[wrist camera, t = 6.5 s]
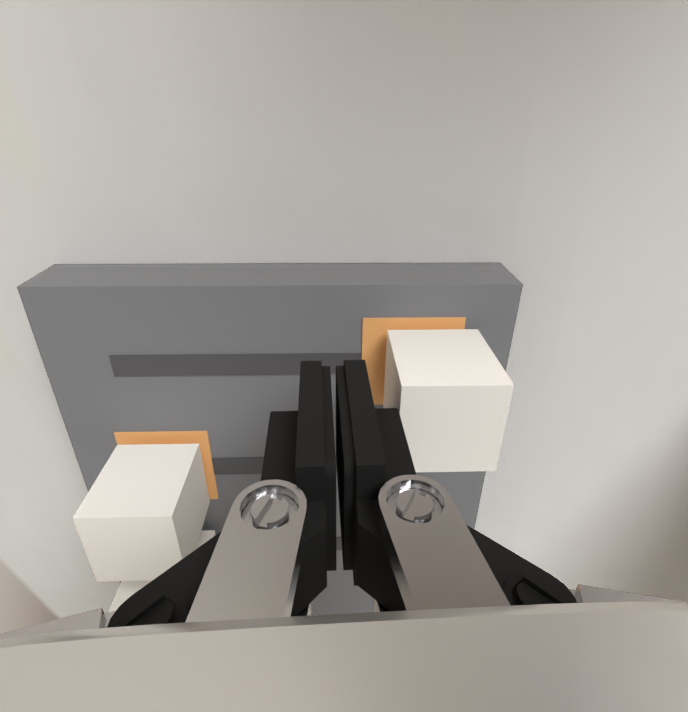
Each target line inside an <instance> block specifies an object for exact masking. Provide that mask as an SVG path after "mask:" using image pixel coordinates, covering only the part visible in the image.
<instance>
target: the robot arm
mask: <svg viewBox="0 0 688 712" xmlns="http://www.w3.org/2000/svg"><path fill="white" fill-rule="evenodd" d="M336 465H337V480H338V496H339V511H340V527H341V542H342V557H343V570H353V581H354V586H359V587H360V588H361V589H362V590H364V591H365V592H366V593H367V594H369V595H370V596H371V597H372V598H373V600H372V601H373V610H374V612H370V613H350V614H331V615H312V616H311V602H312V601H313V600H314V599H315V598H316V597H317V596H318V595H319V594H320V593H321V592H322V591H323V590H324V589H325V588H326V587H327V571H336ZM0 712H688V603H687V602H684V601H679V600H672V599H666V598H660V597H654V596H648V595H641V594H635V593H629V592H623V591H616V590H610V589H604V588H598V587H592V586H585V585H579V584H578V587H577V589H576V590H572V589H568V588H567V587H566V586H565V585H564V584H563V583H562V582H560V581H559V580H558V579H556V578H555V577H553V576H552V575H550V574H549V573H547V572H545V571H544V570H542V569H540V568H539V567H537V566H535V565H534V564H532V563H530V562H528V561H527V560H525V559H523V558H522V557H520V556H518V555H517V554H515V553H513V552H512V551H510V550H508V549H506V548H505V547H503V546H501V545H500V544H498V543H496V542H495V541H493V540H491V539H490V538H488V537H486V536H484V535H483V534H481V533H479V532H478V531H476V530H474V529H473V528H471V527H469V526H468V525H466V524H465V522H464V520H463V518H462V516H461V514H460V513H459V511H458V509H457V507H456V505H455V504H454V502H453V500H452V498H451V496H450V495H449V493H448V492H447V491H446V489H445V488H444V487H443V486H441V485H440V484H439V483H437V482H436V481H434V480H432V479H430V478H427V477H425V476H419V475H416V472H415V468H414V465H413V461H412V457H411V454H410V450H409V446H408V443H407V439H406V436H405V432H404V428H403V425H402V421H401V418H400V414H399V411H398V409H397V408H375V407H374V402H373V397H372V392H371V387H370V382H369V377H368V372H367V367H366V362H365V360H344V363H343V366H336V455H335V438H334V422H333V406H332V390H331V374H330V366H322V360H318V361H301V363H300V383H299V402H298V411H271V412H270V417H269V424H268V432H267V439H266V446H265V453H264V460H263V467H262V475H261V481H260V482H257V483H254V484H252V485H250V486H248V487H246V488H245V489H244V490H243V491H242V492H241V493H239V494H238V496H237V497H236V499H235V501H234V502H233V504H232V507H231V509H230V512H229V514H228V517H227V519H226V522H225V524H224V527H223V529H222V531H221V532H219V533H218V534H217V535H215V536H214V537H212V538H211V539H210V540H208V541H207V542H206V543H204V544H203V545H201V546H200V547H199V548H197V549H196V550H194V551H193V552H192V553H190V554H189V555H187V556H186V557H185V558H183V559H182V560H180V561H179V562H178V563H176V564H175V565H173V566H172V567H171V568H169V569H168V570H166V571H165V572H164V573H162V574H161V575H159V576H158V577H157V578H155V579H154V580H152V581H151V582H150V583H148V584H147V585H145V586H144V587H143V588H141V589H140V590H138V591H137V592H136V593H134V594H133V595H132V596H130V597H129V598H128V599H127V600H126V601H125V602H124V603H122V604H121V605H120V606H119V607H118V609H117V610H116V611H113V612H110V613H106V614H104V612H103V609H102V608H100V609H96V610H92V611H88V612H84V613H80V614H76V615H72V616H68V617H64V618H60V619H57V620H53V621H49V622H45V623H41V624H37V625H33V626H29V627H26V628H21V629H17V630H14V631H9V632H5V633H2V634H0Z"/></svg>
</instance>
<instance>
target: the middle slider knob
mask: <svg viewBox="0 0 688 712" xmlns="http://www.w3.org/2000/svg"><path fill="white" fill-rule="evenodd" d="M209 503H210V500H209V495H208V489H207V484H206V478H205V473H204V467H203V462H202V457H201V451H200V446H199V444H137V445H117V446H116V448H115V449H114V451H113V453H112V454H111V456H110V458H109V459H108V461H107V463H106V464H105V466H104V467H103V469H102V471H101V472H100V474H99V476H98V477H97V479H96V480H95V482H94V484H93V485H92V487H91V489H90V490H89V492H88V494H87V495H86V497H85V498H84V500H83V502H82V503H81V505H80V507H79V508H78V510H77V512H76V513H75V515H74V516H73V521H74V524H75V526H76V529H77V531H78V534H79V537H80V539H81V542H82V544H83V547H84V550H85V552H86V555H87V557H88V560H89V563H90V565H91V568H92V570H93V573H94V576H95V578H96V581H97V582H105V581H149V580H154V579H155V578H157V577H158V576H159V575H161V574H162V573H164V572H165V571H166V570H168V569H169V568H171V567H172V566H173V565H175V564H176V563H178V562H179V561H180V560H182V559H183V558H185V557H186V556H187V555H189V554H190V553H192V552H193V551H194V550H196V548H197V544H198V541H199V537H200V534H201V531H202V527H203V524H204V520H205V517H206V514H207V510H208V507H209Z"/></svg>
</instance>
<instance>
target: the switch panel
mask: <svg viewBox="0 0 688 712" xmlns="http://www.w3.org/2000/svg"><path fill="white" fill-rule="evenodd" d="M522 286H523V284H522V283H521V282H520V281H519V280H518V279H517V278H516V277H515V276H514V275H513V274H511V273H510V272H509V271H508V270H507V269H506V268H505V267H504V266H503V265H502V264H501V263H279V264H54V265H53V266H51V267H49V268H48V269H46V270H44V271H43V272H41V273H39V274H38V275H36V276H34V277H33V278H31V279H29V280H28V281H26V282H24V283H23V284H21V285H19V286H18V287H17V289H18V291H19V294H20V297H21V300H22V303H23V306H24V309H25V311H26V314H27V317H28V320H29V323H30V326H31V329H32V332H33V334H34V337H35V340H36V343H37V346H38V349H39V352H40V354H41V357H42V360H43V363H44V366H45V369H46V372H47V375H48V377H49V380H50V383H51V386H52V389H53V392H54V395H55V397H56V400H57V403H58V406H59V409H60V412H61V415H62V418H63V420H64V423H65V426H66V429H67V432H68V435H69V438H70V440H71V443H72V446H73V449H74V452H75V455H76V458H77V461H78V463H79V466H80V469H81V472H82V475H83V478H84V481H85V483H86V486H87V489H88V492H89V490H90V489H91V487H92V485H93V484H94V482H95V480H96V479H97V477H98V476H99V474H100V472H101V471H102V469H103V467H104V466H105V464H106V463H107V461H108V459H109V458H110V456H111V454H112V453H113V451H114V449H115V448H116V446H117V445H137V444H199V446H200V451H201V457H202V462H203V467H204V473H205V478H206V484H207V489H208V495H209V500H210V503H209V507H208V510H207V514H206V517H205V520H204V524H203V527H202V531H203V530H215V533H216V535H217V534H218V533H219V532H221V531H222V529H223V527H224V524H225V522H226V519H227V517H228V514H229V512H230V509H231V507H232V504H233V502H234V501H235V499H236V497H237V496H238V494H239V493H241V492H242V491H243V490H244V489H245V488H246V487H248V486H250V485H252V484H254V483H257V482H260V481H261V475H262V467H263V460H264V453H265V446H266V439H267V432H268V424H269V417H270V412H271V411H298V402H299V383H300V363H301V361H318V360H322V366H330V374H331V390H332V406H333V422H334V438H335V455H336V366H343V363H344V360H365V362H366V367H367V372H368V377H369V382H370V387H371V392H372V397H373V402H374V407H375V408H383V398H384V380H385V362H386V344H387V330H437V329H478V330H479V332H480V333H481V335H482V336H483V338H484V339H485V341H486V342H487V344H488V346H489V347H490V349H491V350H492V352H493V353H494V355H495V356H496V358H497V359H498V361H499V362H500V364H501V365H502V367H503V368H504V370H505V371H506V366H507V361H508V356H509V351H510V346H511V341H512V336H513V331H514V326H515V321H516V316H517V311H518V306H519V301H520V296H521V291H522ZM485 472H486V471H472V472H416V475H419V476H425V477H427V478H430V479H432V480H434V481H436V482H437V483H439V484H440V485H441V486H443V487H444V488H445V489H446V491H447V492H448V493H449V495H450V496H451V498H452V500H453V502H454V504H455V505H456V507H457V509H458V511H459V513H460V514H461V516H462V518H463V520H464V522H465V524H466V525H468V526H469V527H471V528H473V529H474V527H475V522H476V517H477V512H478V507H479V502H480V497H481V492H482V487H483V482H484V477H485ZM120 583H121V581H120ZM372 600H373V598H372V597H371V596H370V595H369V594H367V593H366V592H365V591H364V590H362V589H361V588H360V587H359V586H354V581H353V570H343V557H342V542H341V527H340V511H339V496H338V480H337V465H336V571H327V587H326V588H325V589H324V590H323V591H322V592H321V593H320V594H319V595H318V596H317V597H316V598H315V599H314V600H313V601H312V602H311V615H327V614H350V613H370V612H374V610H373V601H372Z"/></svg>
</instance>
